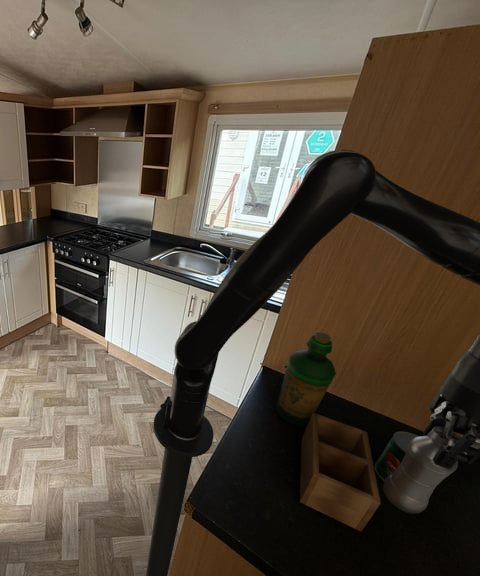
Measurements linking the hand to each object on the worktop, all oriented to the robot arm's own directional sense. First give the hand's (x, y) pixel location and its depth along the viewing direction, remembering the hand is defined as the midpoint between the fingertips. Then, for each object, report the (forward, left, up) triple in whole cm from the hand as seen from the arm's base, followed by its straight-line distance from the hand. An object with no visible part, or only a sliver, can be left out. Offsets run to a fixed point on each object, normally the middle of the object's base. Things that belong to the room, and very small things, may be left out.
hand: (435, 450), depth 58 cm
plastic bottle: (0, 0, -16) cm, 16 cm away
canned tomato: (+3, +12, -21) cm, 25 cm away
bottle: (-19, +20, -21) cm, 35 cm away
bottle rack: (-11, +3, -21) cm, 24 cm away
